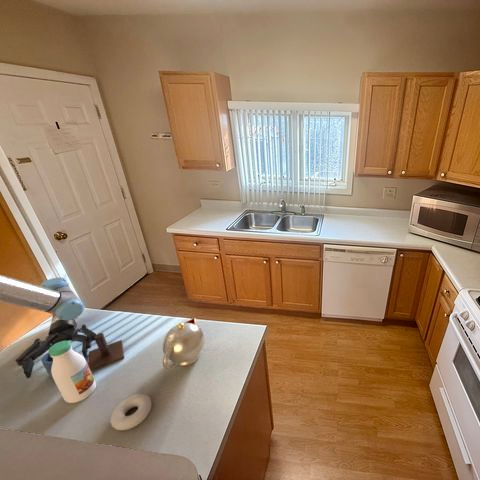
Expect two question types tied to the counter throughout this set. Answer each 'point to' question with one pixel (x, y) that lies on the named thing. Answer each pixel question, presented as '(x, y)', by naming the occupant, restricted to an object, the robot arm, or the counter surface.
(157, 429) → the counter surface
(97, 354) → the post stand
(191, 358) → the teapot
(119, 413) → the donut
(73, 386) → the milk bottle
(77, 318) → the robot arm
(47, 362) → the ring sleeve
